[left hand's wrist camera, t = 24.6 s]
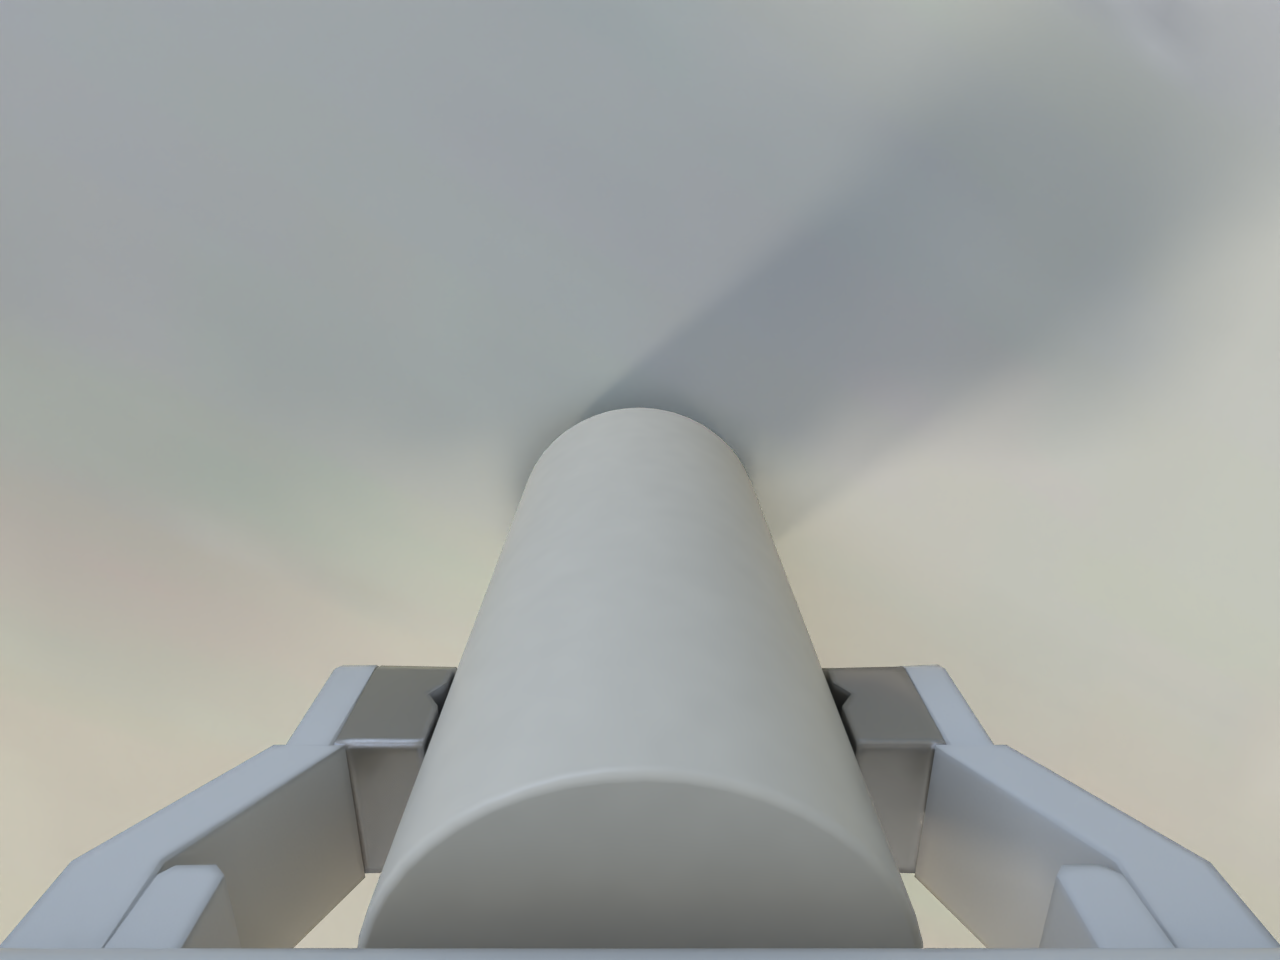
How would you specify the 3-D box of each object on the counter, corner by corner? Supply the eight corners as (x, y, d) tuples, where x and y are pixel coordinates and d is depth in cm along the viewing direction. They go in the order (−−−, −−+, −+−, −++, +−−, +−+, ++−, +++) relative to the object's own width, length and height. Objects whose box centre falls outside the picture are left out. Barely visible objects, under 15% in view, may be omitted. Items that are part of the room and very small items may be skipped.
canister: (636, 661, 17) (634, 1247, 7) (473, 517, 15) (233, 1000, 6) (803, 521, 15) (1043, 1007, 6) (642, 355, 14) (649, 655, 5)
